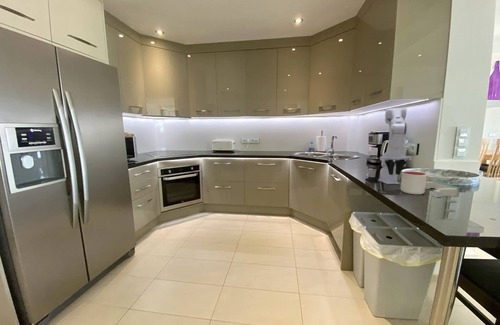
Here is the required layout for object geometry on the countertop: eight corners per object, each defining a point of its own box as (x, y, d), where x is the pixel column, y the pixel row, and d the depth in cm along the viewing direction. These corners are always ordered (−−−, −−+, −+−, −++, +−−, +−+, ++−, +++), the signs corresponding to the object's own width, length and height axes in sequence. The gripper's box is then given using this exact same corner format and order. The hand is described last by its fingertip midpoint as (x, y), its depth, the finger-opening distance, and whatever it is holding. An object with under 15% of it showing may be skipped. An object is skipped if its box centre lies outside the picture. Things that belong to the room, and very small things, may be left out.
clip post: (432, 196, 104) (433, 190, 104) (437, 196, 104) (438, 190, 104) (436, 197, 102) (437, 191, 102) (441, 197, 102) (442, 191, 102)
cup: (429, 195, 106) (432, 175, 105) (409, 195, 106) (411, 175, 105) (414, 189, 116) (416, 171, 114) (395, 189, 116) (397, 171, 115)
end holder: (415, 188, 118) (416, 180, 118) (433, 188, 118) (434, 180, 117) (437, 196, 104) (438, 187, 103) (458, 196, 104) (459, 187, 103)
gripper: (386, 148, 104) (384, 176, 106) (417, 148, 104) (414, 176, 106) (378, 147, 111) (376, 173, 113) (406, 147, 111) (404, 173, 113)
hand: (394, 174), depth 110 cm, fingers open, 3 cm apart
